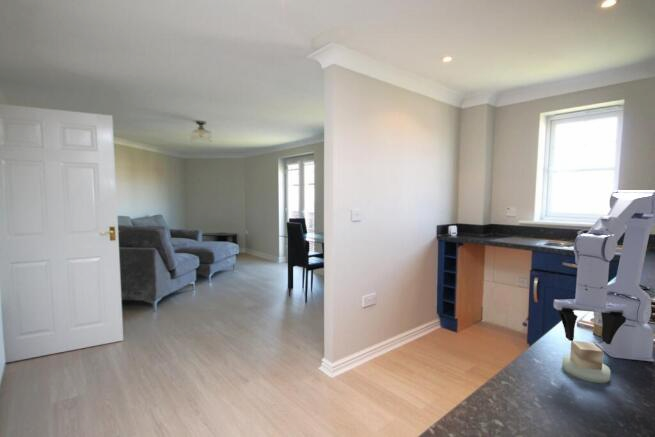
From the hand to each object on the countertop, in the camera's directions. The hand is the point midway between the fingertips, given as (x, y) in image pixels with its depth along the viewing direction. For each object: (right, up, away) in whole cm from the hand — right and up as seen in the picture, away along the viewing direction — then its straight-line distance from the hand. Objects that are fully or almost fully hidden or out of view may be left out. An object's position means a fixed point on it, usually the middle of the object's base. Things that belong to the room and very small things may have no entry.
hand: (587, 340), depth 78 cm
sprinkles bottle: (+22, -7, +22) cm, 31 cm away
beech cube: (0, -6, +1) cm, 6 cm away
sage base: (0, -8, +1) cm, 8 cm away
